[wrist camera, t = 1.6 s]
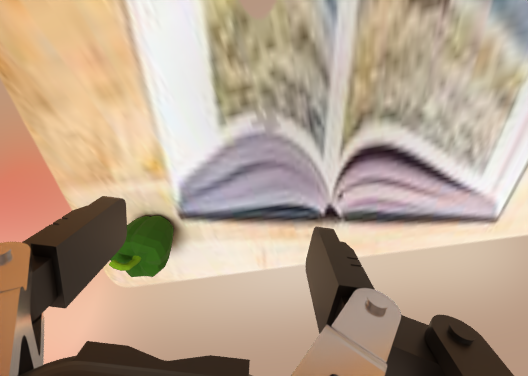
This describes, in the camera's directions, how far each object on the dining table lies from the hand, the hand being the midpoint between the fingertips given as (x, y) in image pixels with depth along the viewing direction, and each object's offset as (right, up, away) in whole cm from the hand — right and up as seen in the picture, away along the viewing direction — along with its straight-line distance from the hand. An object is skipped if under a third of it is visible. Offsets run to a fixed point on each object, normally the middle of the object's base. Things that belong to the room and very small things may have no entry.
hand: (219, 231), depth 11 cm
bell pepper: (-16, -5, +33) cm, 37 cm away
